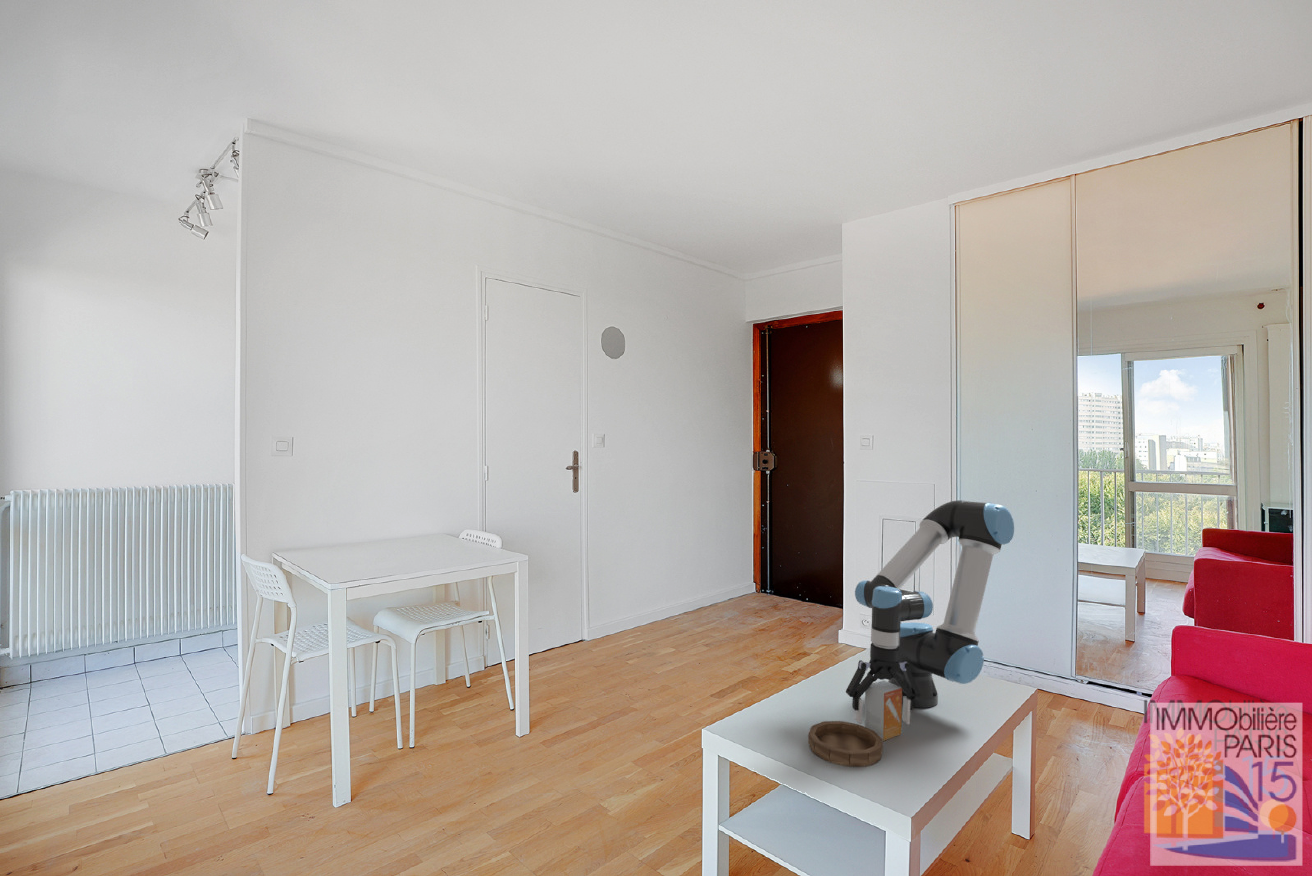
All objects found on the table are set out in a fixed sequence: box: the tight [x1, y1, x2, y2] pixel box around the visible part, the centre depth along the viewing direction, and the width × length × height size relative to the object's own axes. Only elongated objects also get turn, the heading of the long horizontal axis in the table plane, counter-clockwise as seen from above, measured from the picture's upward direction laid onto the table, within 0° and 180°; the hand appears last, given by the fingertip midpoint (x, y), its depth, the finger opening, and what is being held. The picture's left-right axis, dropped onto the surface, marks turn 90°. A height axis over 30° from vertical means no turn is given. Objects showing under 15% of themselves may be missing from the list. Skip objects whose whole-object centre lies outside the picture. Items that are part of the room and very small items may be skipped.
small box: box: [864, 679, 903, 742], centre depth 173 cm, size 8×6×13 cm
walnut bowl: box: [807, 720, 884, 768], centre depth 164 cm, size 18×18×3 cm
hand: (881, 722), depth 173 cm, fingers open, 13 cm apart
